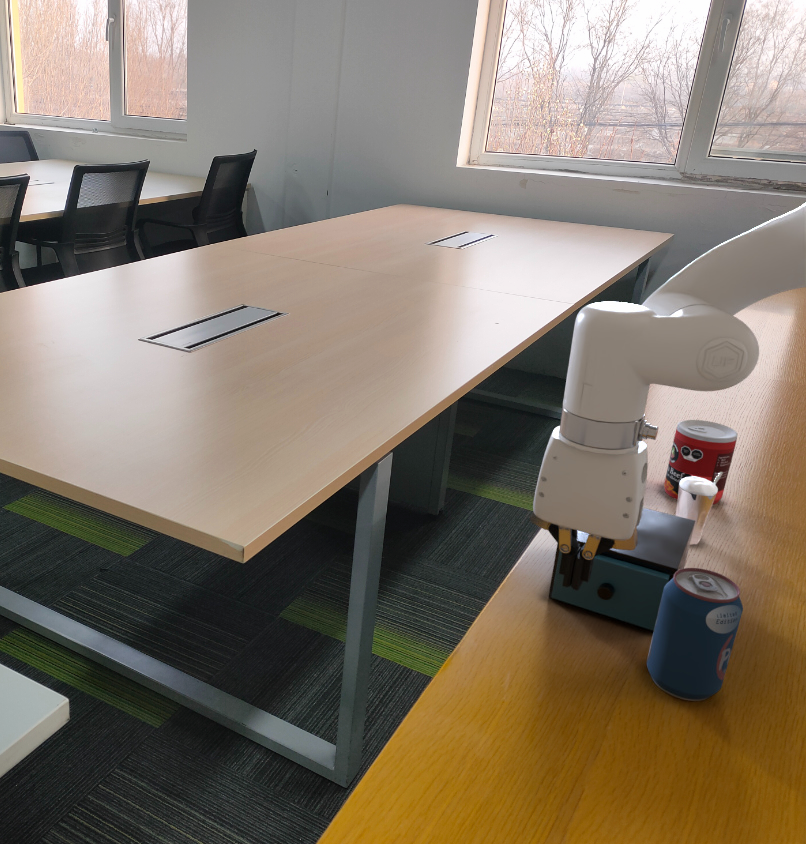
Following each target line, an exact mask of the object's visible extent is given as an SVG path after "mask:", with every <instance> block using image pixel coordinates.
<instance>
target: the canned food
mask: <svg viewBox="0 0 806 844" xmlns="http://www.w3.org/2000/svg"><path fill="white" fill-rule="evenodd" d="M737 440H738V432H737V431H736V430H735V429H733V428H731V427H729V426H726V425H725V424H722V423H718V422H714V421H708V420H700V419H688V420H687V419H686V420H682V421H679V422H678V423H677V426H676V428H675V433H674V437H673V442H672V445H671V450H670V455H669V459H668V465H667V469H666V474H665V479H664V483H663V486H664V492H665V493H666V494H667V495H668V496H669V497H671V498H672V499H675V500H677V501H678V491H679V483H680V480H681V479H683V478H685V477H691V476H696V477H700V478H704V479H707V480H709V481H711V482H712V483H713V482H714V481H715V479H716V478H717V476H718V475H719V473H720V472H723V474H722V475H721V477H720V479H719V480H718V482H717V483H716V487H717V488H718V492H717V494H716V497H715V499H714V502H713V504H712V506H714V505H716V504H718V503H719V502H720V501H721V499H722V498H723V495H724V492H725V488H726V483H727V480H728V476H729V472H730V468H731V464H732V460H733V456H734V454H735V453H734V452H735V448H736V445H737Z"/></svg>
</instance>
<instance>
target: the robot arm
mask: <svg viewBox="0 0 806 844" xmlns="http://www.w3.org/2000/svg"><path fill="white" fill-rule="evenodd" d="M803 288H806V202H805V203H803V204H802V205H801V206H799V207H796V208H795V209H793V210H790V211H789V212H787V213H785V214H782V215H780V216H778V217H775V218H773V219H770V220H769V221H766V222H763V223H762V224H760V225H758V226H756V227H754V228H752V229H750V230H748V231H746V232H743V233H741V234H740V235H737V236H735V237H733V238H731V239H728V240H727V241H724V242H723V243H721V244H719V245H717V246H715V247H713V248H712V249H710V250H708V251H707V252H705V253H703V254H701V255H700V256H699V257H697V258H695V260H693V261H692V262H691V263H689V264H687V265H686V266H685V267H684V268H682V269H681V270H680V271H678V272H677V273H675V274H674V275H673V276H672V277H670V278H669V279H668V280H667V281H666V282H665V283H663V284H662V285H660V286H659V287H658V288H657V289H656V290H655V291H653V292H652V293H651V294H650V295H649V296H648V297H647V298H646V299H645V301H644V302H643V303H642V304H641V305H640V304H634V303H628V302H622V301H621V302H619V301H601V302H594V303H590V304H587V305H585V306H584V307H582V308H581V309H580V310H579V312H578V313H577V315H576V317H575V321H574V327H573V332H572V333H573V334H572V340H571V347H570V354H569V361H568V366H567V372H566V380H565V381H566V382H565V387H564V393H563V401H562V406H561V407H562V408H561V412H560V413H561V414H560V421H559V425H558V426H555V428H554V429H553V431H552V432H551V434H550V437H549V439H548V442H547V446H546V448H545V451H544V455H543V457H542V462H541V466H540V469H539V472H538V473H539V474H538V478H537V482H536V486H535V490H534V496H533V503H532V513H531V516H529V521H530V523H531V524H533V525H534V526H537V527H538V528H541V529H542V530H545V531H548V532H549V534H550V535H551V537H552V538H553V539H554V540H555V542H556V544H557V543H558V544H559V549H560V551H561V552H562V557H561V563H560V570H559V574H562V575H564V579H563V585H562V586H564V587H567V588H568V587H570V586H571V588H573V589H574V590H577V591H578V590H579V588H580V586H581V584H582V583H583V581H585V582H589V580H590V577H591V573H592V568H593V562H594V557H595V556H597V555H599V554H601V553H603V552H605V551H607V550H609V549H611V548H614V549H620V550H634V549H635V548H636V546H637V544H638V536H637V526H638V525H639V523H640V519H641V516H642V511H643V508H644V503H645V497H646V489H647V481H648V469H649V467H648V464H649V461H648V460H649V459H648V458H649V455H648V453H649V451H648V444H647V443H646V442H645V441H643V440H648V439H649V440H653V441H656V440H657V436H658V433H659V426H657V425H653V424H651V423H648V422H647V421H648V420H647V419H646V414H645V413H646V407H647V404H648V403H647V400H648V398H649V397H648V396H649V391H650V386H651V385H658V386H659V385H660V386H665V387H671V388H677V389H682V390H687V391H695V392H717V391H722V390H723V391H724V390H727V389H730V388H732V387H735V386H738V384H740V383H742V382H743V381H745V380H746V379H747V378H748V377H749V376H750V375H751V374H752V373H753V371H755V368H756V366H757V365H758V361H759V358H760V346H759V342H758V339H757V337H756V335H755V333H754V332H753V330H752V329H751V328H750V327H749V326H748V325H747V324H746V323H745V322H744V321H742V320H741V319H739V318H738V317H736V316H735V315H737V314H738V313H739V312H741V311H742V310H744V309H746V308H748V307H750V306H751V305H753V304H756V303H758V302H759V301H762V300H764V299H767V298H770V297H772V296H775V295H778V294H781V293H784V292H788V291H792V290H793V291H794V290H799V289H803ZM577 531H581V532H585V533H589V536H588V538H587V541H586V544H584V546H583V547H582V549H581V547H580V544H579V542H578V541H577Z"/></svg>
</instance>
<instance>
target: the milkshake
mask: <svg viewBox="0 0 806 844" xmlns="http://www.w3.org/2000/svg"><path fill="white" fill-rule="evenodd" d="M722 474H723V472H720V473H719V475H718V476H717V478H716V479H715V481H714V482H713V483H712V482H711V481H709V480H707V479H704V478H700V477H696V476H691V477H685V478H683V479H681V480H680V483H679V491H678V500H677V501H676V509H675V514H674V515H675V516H679V517H683V518H687V519H691V520H695V525H694V529H693V533H692V538H691V542H690V546H691V545H692V546H693V545H698V543H700V542H701V538H702V535H703V533H704V529H705V527H706V523H707V521H708V518H709V515H710V512H711V509H712V507H713V505H714V504H713V502H714V499H715V497H716V494H717V492H718V488H717V487H716V483H717V482H718V480H719V479H720V477H721V475H722ZM712 504H713V505H712Z"/></svg>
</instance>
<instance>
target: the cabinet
mask: <svg viewBox="0 0 806 844" xmlns="http://www.w3.org/2000/svg"><path fill="white" fill-rule="evenodd" d="M675 515H676V514H671V513H666V512H663V511H658V510H654V509H651V508H647V507H643V511H642V516H641V519H640V523H639V525H638V526H637V536H638V544H637V546H636V548H635V549H634V550H620V549H614V548H611V549H609V550H607V551H605V552H603V553H601V554H604V555H607V556H611V557H614V558H618V559H621V560H625V561H628V562H632V563H635V564H639V565H642V566H646V567H649V568H653V569H656V570H660V571H663V572H667V573H668V574H669V575H670V576H669V581H670V580H671V579H672V578H673V577H674V574H675V573H676V572H677V571H678V570H680V569H684V568H685V566H686V561H687V558H688V554H689V550H690V546H691V545H690V542H691V538H692V533H693V529H694V525H695V520H691V519H687V518H683V517H679V516H675ZM588 536H589V533H585V532H581V531H577V541H578V542H579V544H580V547H581V548H582V547H583V546H584V544H586V541H587V538H588ZM555 549H556V550H555V554H554V555H555V556H554V561H553V567H552V573H551V579H550V585H549V591H548V595H547V597H548V599H551V600H554V601H558V602H560V603H564V604H567V605H570V606H572V607H576V608H579V609H582V610H585V611H588V612H592V613H595V614H597V615H600V616H604V617H606V618H609V619H612V620H616V621H619V622H622V623H626V624H627V625H631V626H633V627H637V628H640V629H644V630H646V631H650V632H654V631H653V630H650V629H647V628H644V627H641V626H638V625H634V624H631V623H628V622H625V621H622V620H619V619H616V618H613V617H610V616H607V615H604V614H601V613H597V612H594V611H591V610H588V609H585V608H582V607H579V606H576V605H573V604H570V603H567V602H564V601H561V600H557V599H554V598H552V592H553V586H554V580H555V575H556V569H557V563H558V557H559V552H560V549H559V544H558V543H557V542H556V548H555ZM669 581H668V582H669Z"/></svg>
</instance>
